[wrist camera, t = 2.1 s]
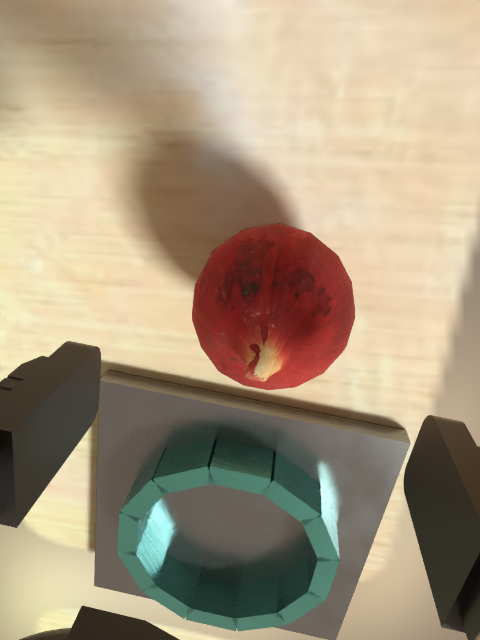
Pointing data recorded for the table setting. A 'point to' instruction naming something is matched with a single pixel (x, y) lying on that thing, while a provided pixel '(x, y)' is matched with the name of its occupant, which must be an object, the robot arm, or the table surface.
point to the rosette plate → (237, 504)
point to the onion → (273, 307)
